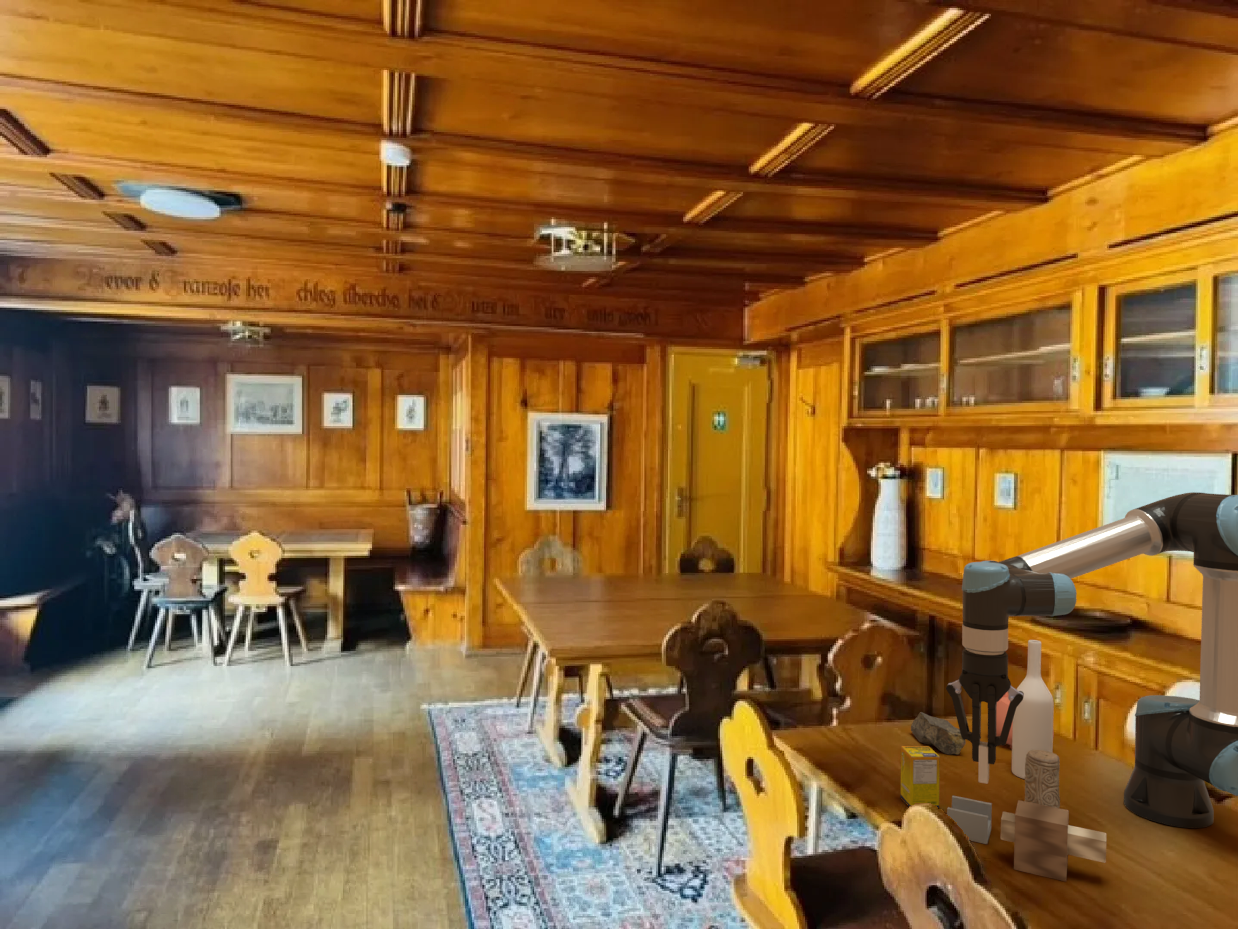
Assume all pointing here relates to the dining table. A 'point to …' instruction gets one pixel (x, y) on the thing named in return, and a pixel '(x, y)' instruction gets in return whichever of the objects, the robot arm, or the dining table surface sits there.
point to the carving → (1042, 778)
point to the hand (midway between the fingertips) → (983, 780)
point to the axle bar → (1077, 843)
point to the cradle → (972, 817)
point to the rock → (938, 733)
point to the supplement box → (919, 775)
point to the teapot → (1001, 715)
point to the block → (1041, 840)
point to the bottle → (1032, 713)
